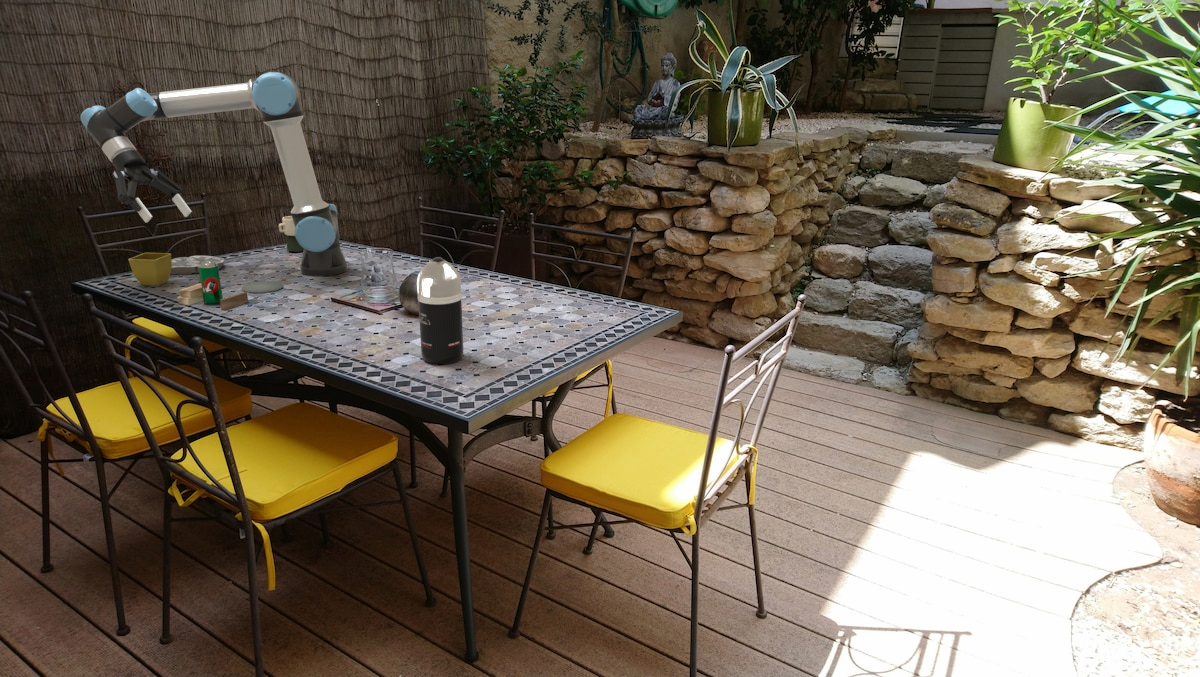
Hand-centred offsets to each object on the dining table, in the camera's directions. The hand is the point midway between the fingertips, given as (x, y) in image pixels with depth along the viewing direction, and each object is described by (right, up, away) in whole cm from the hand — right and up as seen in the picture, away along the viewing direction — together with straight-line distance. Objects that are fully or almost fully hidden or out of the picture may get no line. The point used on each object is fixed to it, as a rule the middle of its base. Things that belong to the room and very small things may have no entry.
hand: (169, 217), depth 212 cm
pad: (+18, -19, +19) cm, 33 cm away
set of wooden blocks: (+11, -25, +3) cm, 27 cm away
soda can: (+11, -25, +3) cm, 27 cm away
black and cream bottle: (+86, -40, -34) cm, 101 cm away
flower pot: (-17, -18, +20) cm, 32 cm away
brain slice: (-15, -12, +39) cm, 43 cm away
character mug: (+9, -2, +67) cm, 68 cm away
